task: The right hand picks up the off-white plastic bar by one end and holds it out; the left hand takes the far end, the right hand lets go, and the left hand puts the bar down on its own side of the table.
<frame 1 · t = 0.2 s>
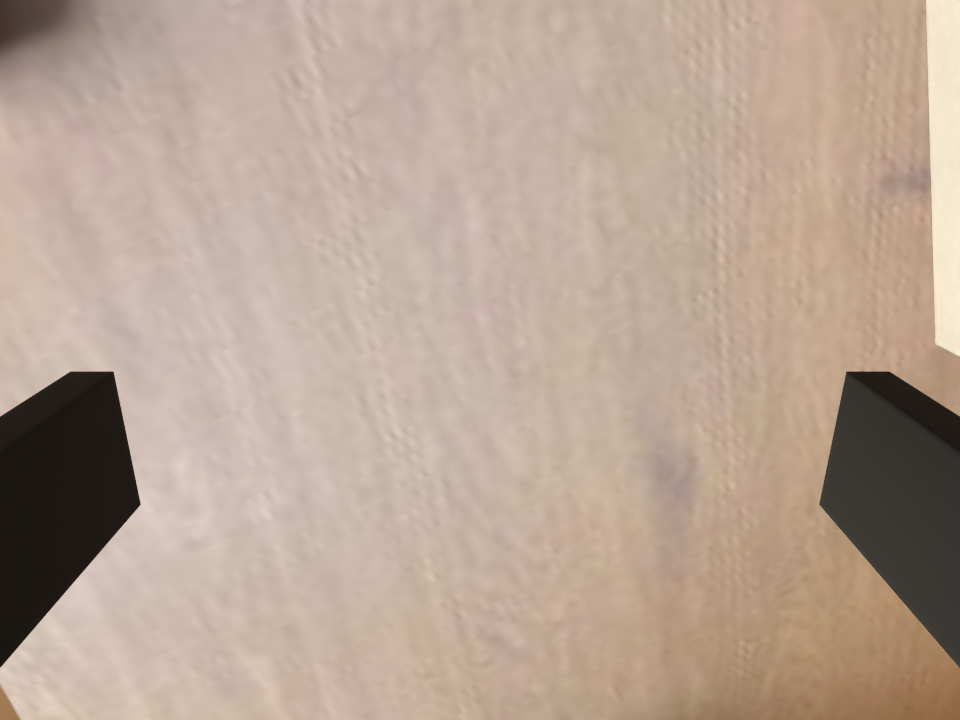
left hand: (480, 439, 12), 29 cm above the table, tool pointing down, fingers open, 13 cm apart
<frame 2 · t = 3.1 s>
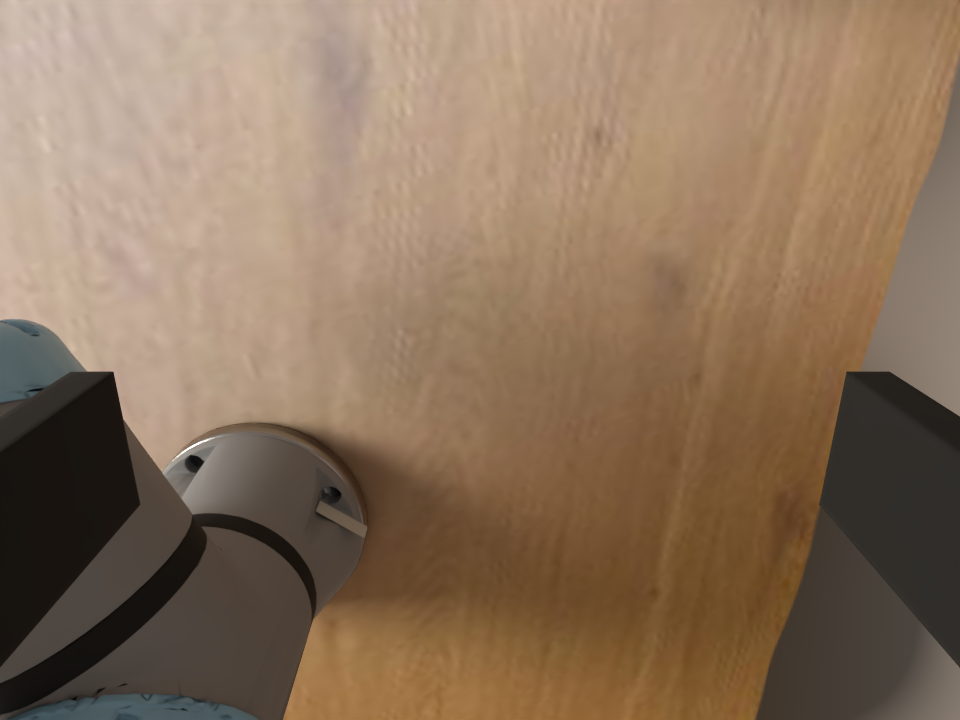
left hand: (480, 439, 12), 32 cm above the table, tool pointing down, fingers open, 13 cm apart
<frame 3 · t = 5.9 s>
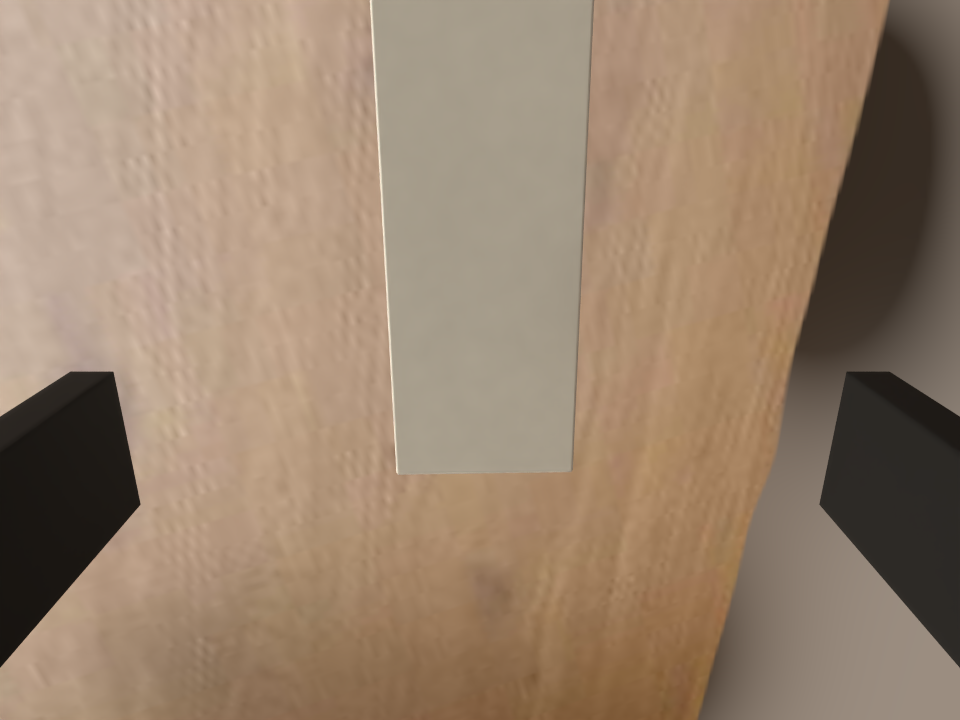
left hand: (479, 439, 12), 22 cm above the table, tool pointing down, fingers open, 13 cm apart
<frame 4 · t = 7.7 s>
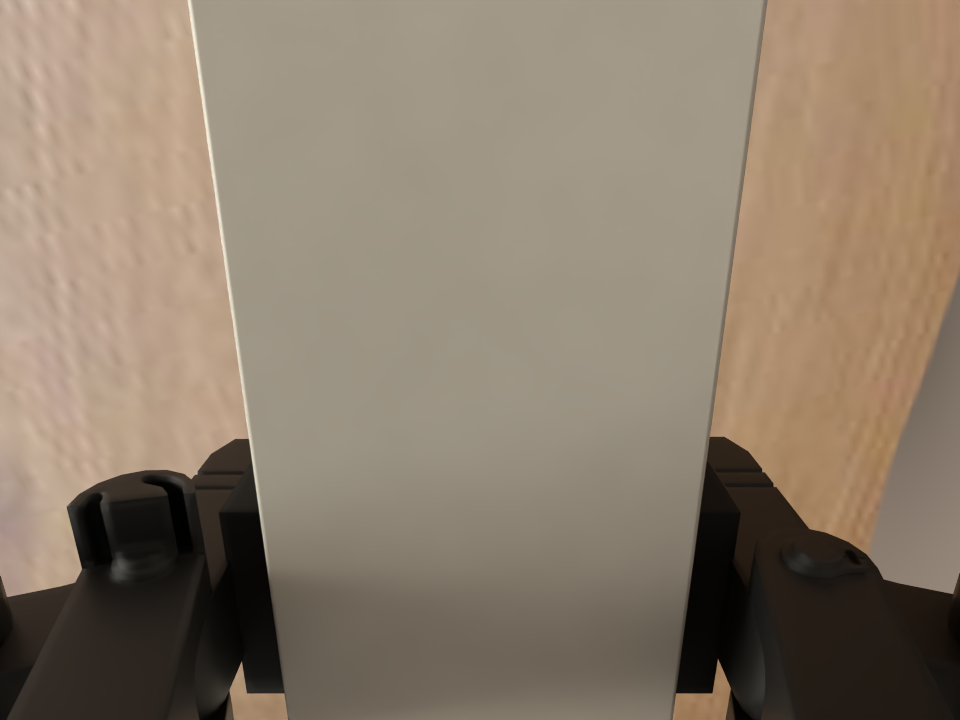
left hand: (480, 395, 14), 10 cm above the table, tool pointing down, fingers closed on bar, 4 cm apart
when the right hand's fingers open (13 cm above the table, at t = 8.6 s): bar stays where it is, held by the left hand.
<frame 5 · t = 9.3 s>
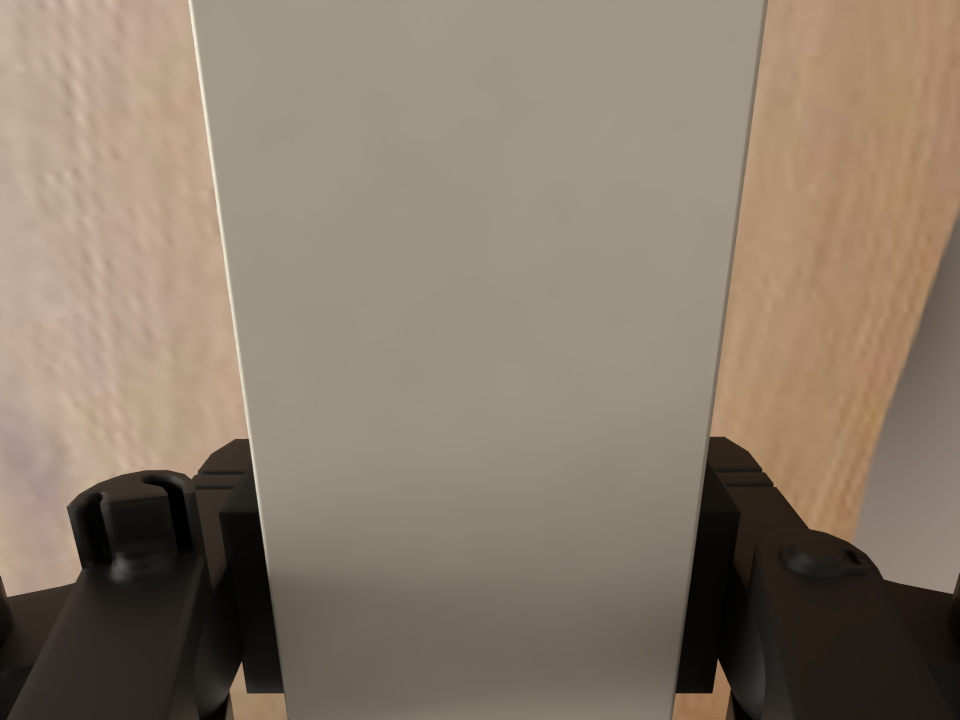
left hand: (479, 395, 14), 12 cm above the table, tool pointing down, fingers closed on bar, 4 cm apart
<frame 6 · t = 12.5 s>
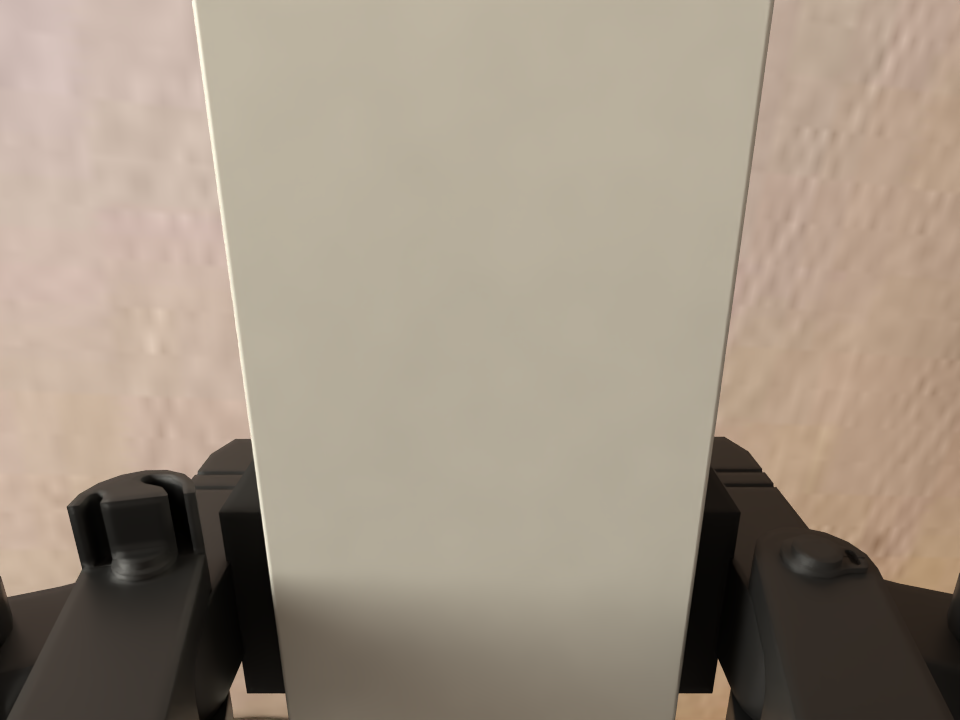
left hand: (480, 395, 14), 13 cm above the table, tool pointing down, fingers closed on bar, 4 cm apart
when the left hand's fingers open (2 cm above the table, at t = 17.3 s): bar stays where it is, on the table.
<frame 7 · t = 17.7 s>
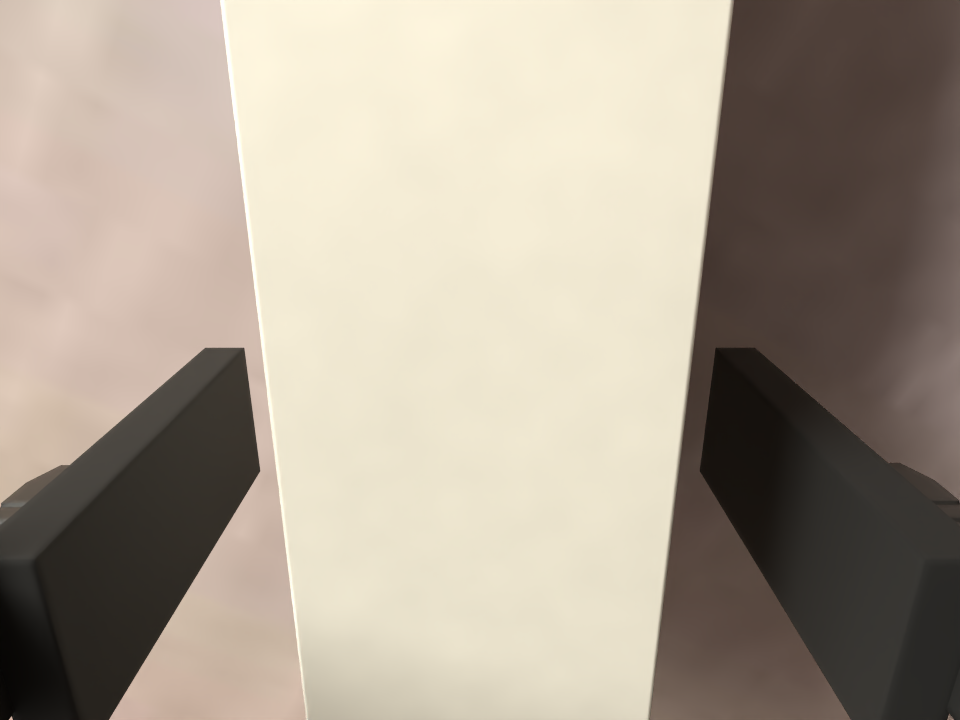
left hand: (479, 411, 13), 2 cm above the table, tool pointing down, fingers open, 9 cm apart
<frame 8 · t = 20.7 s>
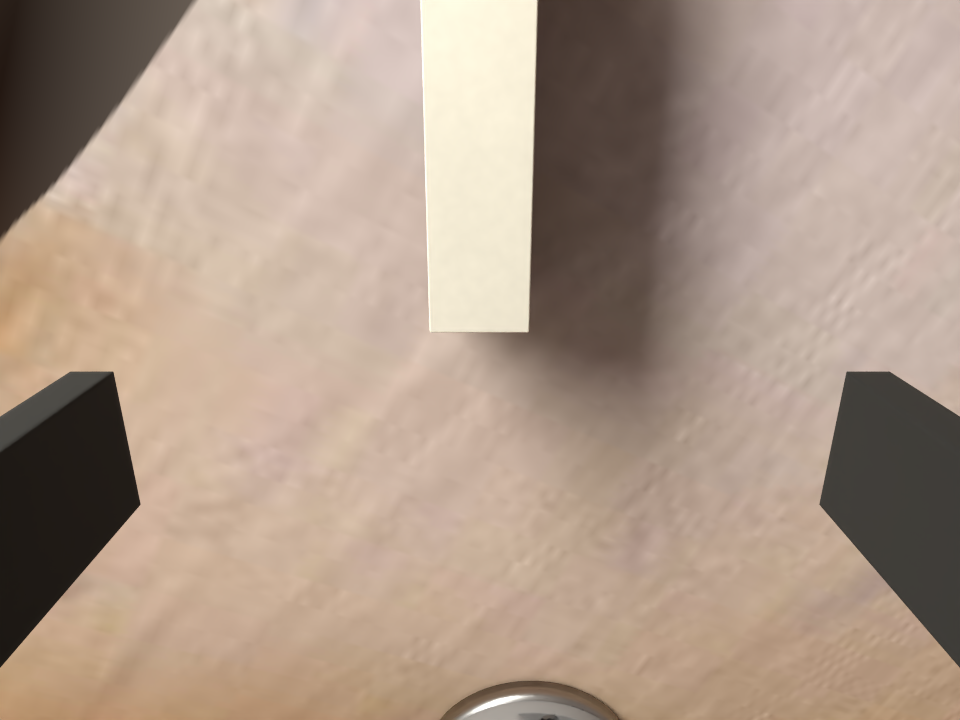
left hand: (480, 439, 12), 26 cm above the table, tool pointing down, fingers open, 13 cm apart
bar: (479, 48, 33), on the table
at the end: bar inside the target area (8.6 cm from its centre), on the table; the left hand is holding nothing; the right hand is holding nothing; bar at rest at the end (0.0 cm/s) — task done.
